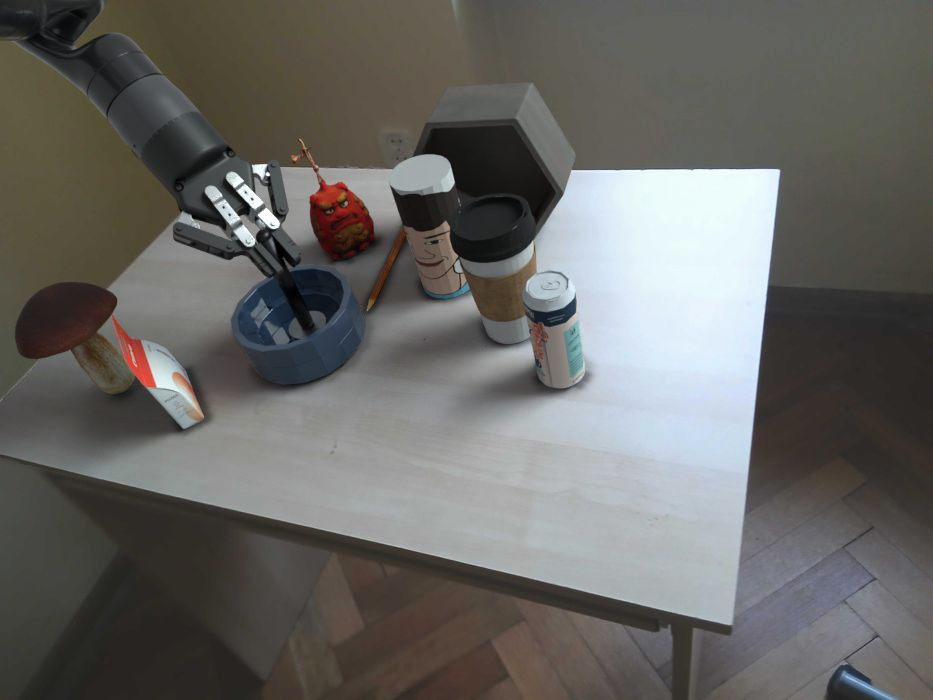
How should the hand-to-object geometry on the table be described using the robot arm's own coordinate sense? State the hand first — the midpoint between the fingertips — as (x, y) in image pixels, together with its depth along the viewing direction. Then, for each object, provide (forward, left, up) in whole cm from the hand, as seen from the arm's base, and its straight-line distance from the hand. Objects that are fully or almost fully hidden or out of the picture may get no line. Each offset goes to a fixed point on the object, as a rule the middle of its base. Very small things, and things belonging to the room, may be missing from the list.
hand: (289, 269), depth 72 cm
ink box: (-17, +1, -13) cm, 21 cm away
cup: (+16, +5, -13) cm, 21 cm away
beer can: (+22, -15, -12) cm, 30 cm away
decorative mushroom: (-24, +7, -12) cm, 28 cm away
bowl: (-2, +3, -12) cm, 13 cm away
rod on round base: (-1, +2, -11) cm, 11 cm away
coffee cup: (+20, -6, -12) cm, 24 cm away
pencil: (+10, +12, -13) cm, 20 cm away
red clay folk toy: (+6, +19, -13) cm, 23 cm away
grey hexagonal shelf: (+25, +11, -13) cm, 30 cm away
